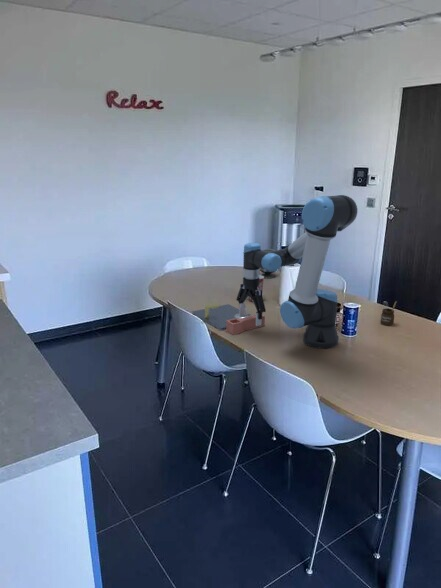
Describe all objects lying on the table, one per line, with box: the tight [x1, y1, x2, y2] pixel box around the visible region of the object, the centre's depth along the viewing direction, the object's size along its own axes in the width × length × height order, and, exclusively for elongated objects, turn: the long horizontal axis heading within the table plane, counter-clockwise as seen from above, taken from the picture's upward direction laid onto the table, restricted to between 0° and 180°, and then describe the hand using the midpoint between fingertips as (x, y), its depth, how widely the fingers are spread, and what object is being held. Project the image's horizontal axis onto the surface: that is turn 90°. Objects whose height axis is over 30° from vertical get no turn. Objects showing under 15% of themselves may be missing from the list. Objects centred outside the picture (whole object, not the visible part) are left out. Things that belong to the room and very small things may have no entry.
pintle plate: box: [192, 304, 253, 331], centre depth 228 cm, size 28×22×1 cm
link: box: [225, 314, 266, 335], centre depth 213 cm, size 19×6×5 cm, turn 121°
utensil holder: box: [380, 300, 398, 327], centre depth 217 cm, size 6×6×12 cm
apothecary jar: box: [260, 248, 276, 279], centre depth 301 cm, size 12×12×18 cm
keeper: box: [203, 301, 220, 319], centre depth 224 cm, size 7×6×8 cm
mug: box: [248, 274, 265, 303], centre depth 255 cm, size 13×9×14 cm
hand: (250, 320), depth 214 cm, fingers open, 13 cm apart
